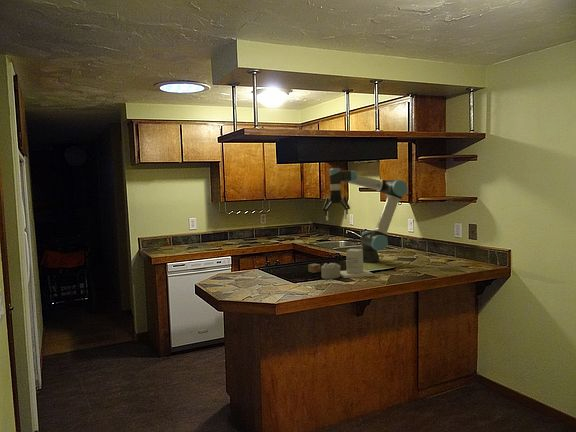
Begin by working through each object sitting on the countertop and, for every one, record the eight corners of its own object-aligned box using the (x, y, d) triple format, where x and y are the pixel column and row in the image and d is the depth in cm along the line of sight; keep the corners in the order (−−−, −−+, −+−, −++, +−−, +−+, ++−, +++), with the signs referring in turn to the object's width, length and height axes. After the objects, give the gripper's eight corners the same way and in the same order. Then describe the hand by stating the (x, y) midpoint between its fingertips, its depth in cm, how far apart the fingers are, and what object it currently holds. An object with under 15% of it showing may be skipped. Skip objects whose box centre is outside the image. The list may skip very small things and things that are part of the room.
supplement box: (350, 270, 304) (350, 248, 303) (363, 271, 300) (363, 249, 299) (346, 273, 296) (345, 250, 295) (359, 274, 292) (358, 251, 291)
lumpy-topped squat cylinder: (342, 276, 294) (342, 263, 293) (330, 279, 284) (330, 266, 284) (330, 274, 301) (329, 261, 300) (317, 277, 292) (317, 264, 291)
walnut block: (315, 270, 315) (314, 263, 315) (320, 271, 310) (320, 264, 310) (308, 271, 312) (308, 264, 311) (313, 273, 307) (313, 265, 306)
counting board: (365, 271, 307) (365, 269, 307) (373, 275, 292) (373, 273, 292) (337, 273, 303) (337, 271, 303) (343, 277, 288) (343, 275, 288)
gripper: (350, 189, 327) (351, 218, 328) (317, 190, 322) (318, 220, 324) (353, 189, 319) (354, 219, 321) (319, 190, 315) (321, 221, 316)
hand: (336, 219), depth 322 cm, fingers open, 13 cm apart
